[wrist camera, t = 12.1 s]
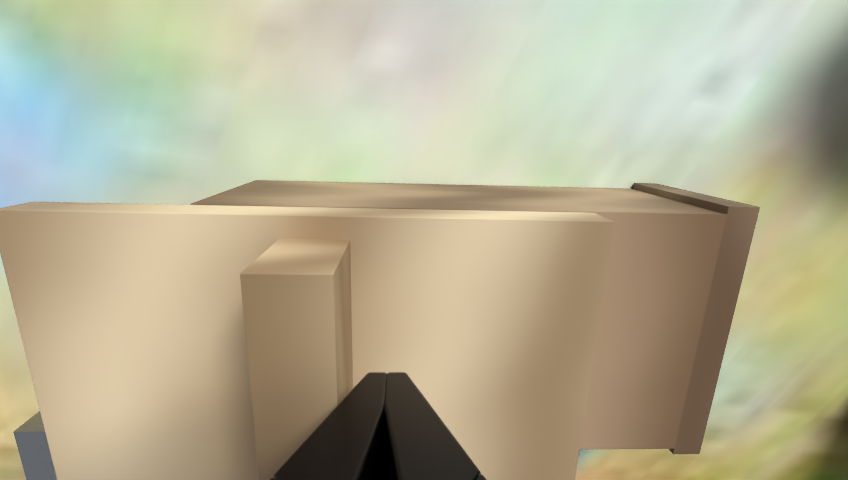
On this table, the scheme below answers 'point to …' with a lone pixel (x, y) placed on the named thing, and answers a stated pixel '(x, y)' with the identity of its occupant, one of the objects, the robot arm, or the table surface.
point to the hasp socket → (35, 450)
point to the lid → (300, 329)
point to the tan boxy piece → (609, 290)
